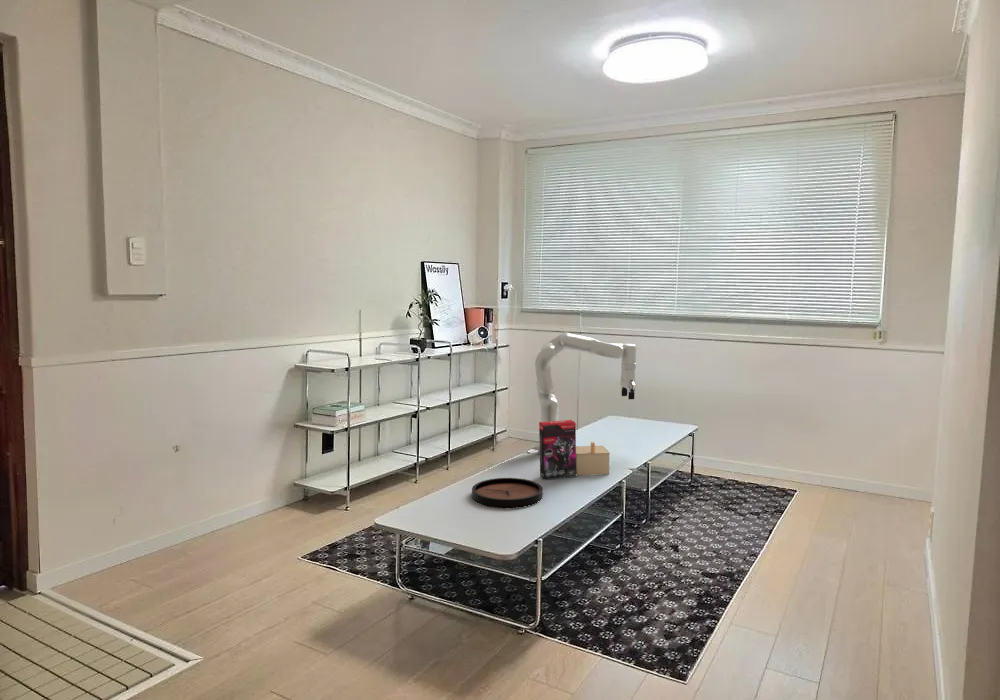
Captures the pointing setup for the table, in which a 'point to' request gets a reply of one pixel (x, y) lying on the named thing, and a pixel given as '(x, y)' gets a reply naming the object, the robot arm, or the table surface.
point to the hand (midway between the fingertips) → (627, 397)
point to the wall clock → (507, 492)
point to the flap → (591, 450)
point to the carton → (592, 464)
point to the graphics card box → (557, 449)
